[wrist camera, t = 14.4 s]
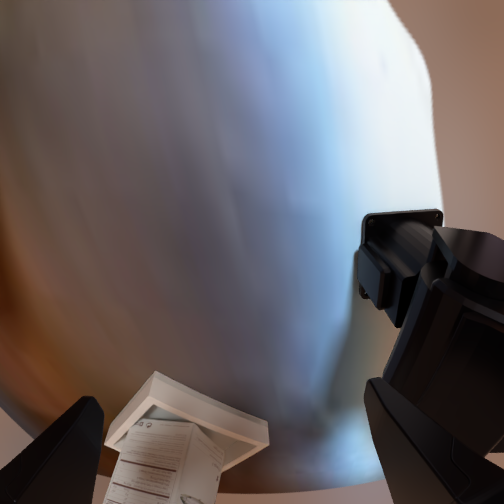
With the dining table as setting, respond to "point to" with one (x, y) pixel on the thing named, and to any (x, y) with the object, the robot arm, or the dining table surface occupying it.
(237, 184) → the dining table surface
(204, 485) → the supplement box
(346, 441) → the dining table surface
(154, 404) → the tray
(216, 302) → the dining table surface
